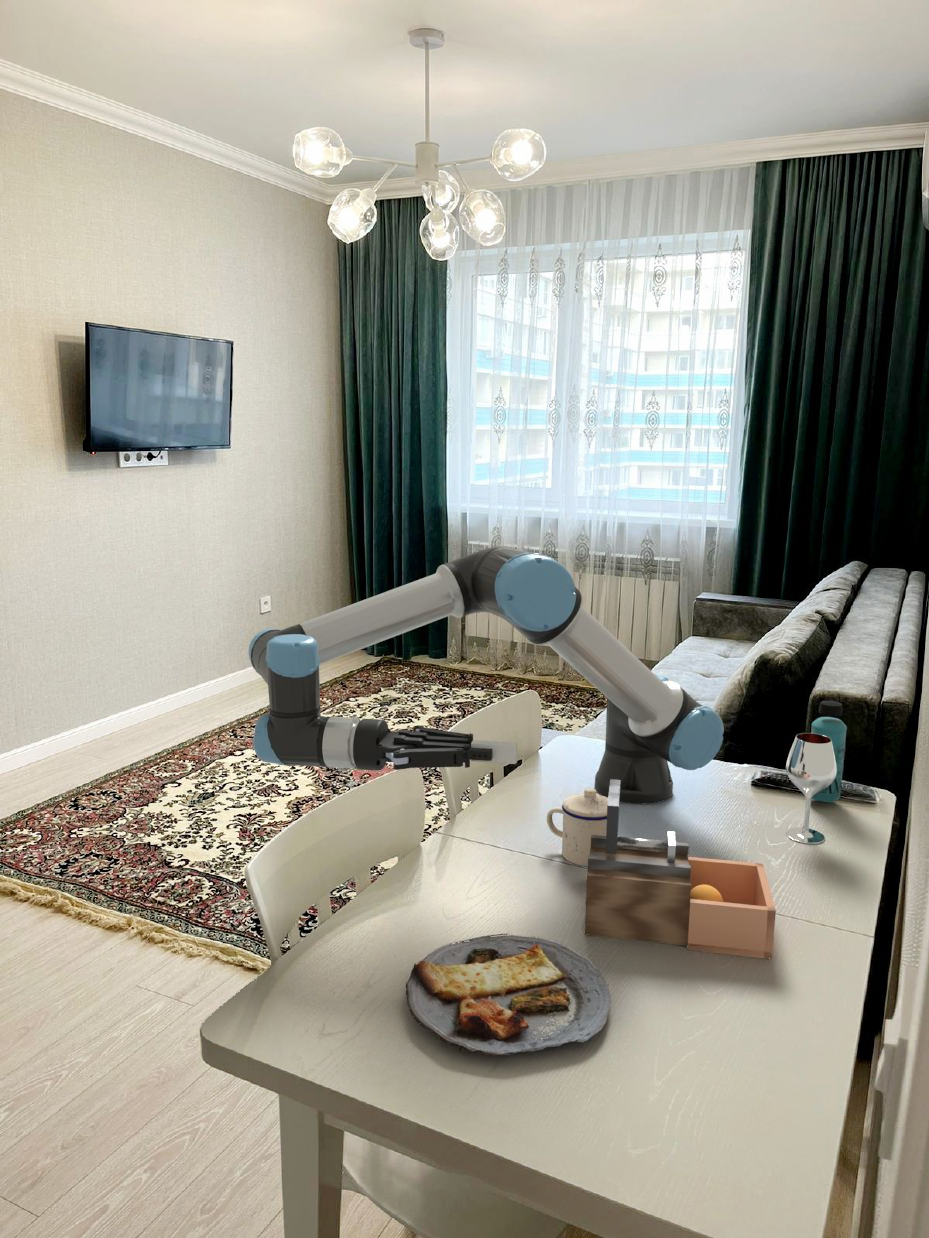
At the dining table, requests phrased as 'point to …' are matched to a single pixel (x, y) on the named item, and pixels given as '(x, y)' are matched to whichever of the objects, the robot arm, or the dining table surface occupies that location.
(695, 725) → the robot arm
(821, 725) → the beverage bottle
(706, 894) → the ball
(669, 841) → the plunger
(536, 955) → the food plate
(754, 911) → the cup
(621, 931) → the launcher
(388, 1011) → the dining table surface
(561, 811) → the teacup with lid
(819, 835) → the wineglass
